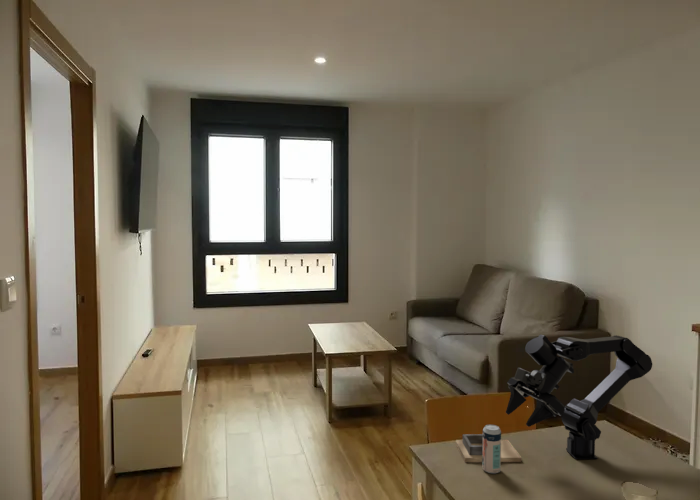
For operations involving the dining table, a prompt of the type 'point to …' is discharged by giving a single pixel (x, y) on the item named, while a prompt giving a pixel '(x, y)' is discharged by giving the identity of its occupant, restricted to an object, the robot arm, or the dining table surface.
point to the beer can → (491, 449)
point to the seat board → (474, 449)
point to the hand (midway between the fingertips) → (516, 419)
